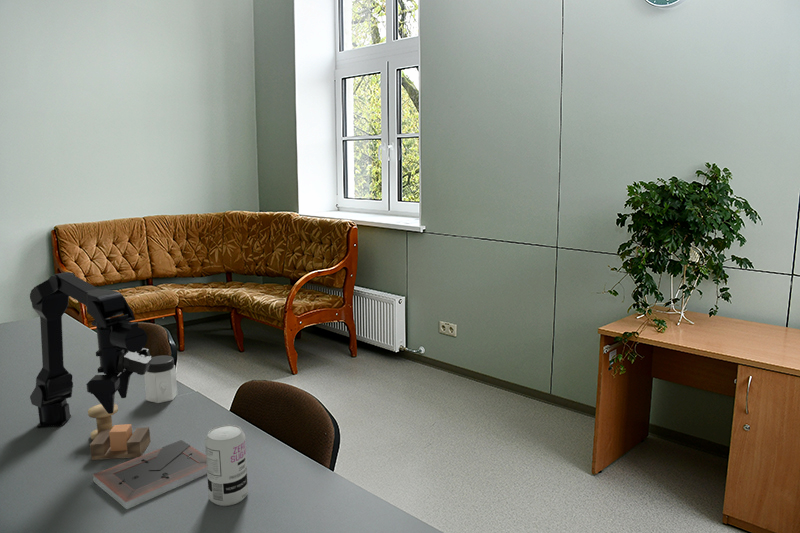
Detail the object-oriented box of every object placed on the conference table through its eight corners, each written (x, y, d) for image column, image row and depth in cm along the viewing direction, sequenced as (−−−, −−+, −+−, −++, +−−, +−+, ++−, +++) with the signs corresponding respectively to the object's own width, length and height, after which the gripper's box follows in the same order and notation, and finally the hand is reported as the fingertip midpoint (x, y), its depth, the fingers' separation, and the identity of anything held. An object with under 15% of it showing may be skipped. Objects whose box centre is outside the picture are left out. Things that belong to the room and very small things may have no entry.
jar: (149, 405, 178) (146, 366, 175) (143, 396, 184) (140, 358, 182) (180, 398, 183) (178, 360, 180) (174, 389, 189) (171, 353, 187)
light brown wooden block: (111, 451, 149) (109, 432, 148) (116, 443, 153) (114, 424, 152) (127, 450, 149) (126, 431, 148) (133, 442, 153) (131, 424, 152)
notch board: (91, 459, 147) (89, 444, 146) (103, 444, 154) (102, 429, 154) (140, 457, 148) (139, 441, 147) (150, 441, 156) (149, 427, 155)
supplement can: (213, 487, 135) (209, 424, 132) (251, 485, 135) (247, 422, 132) (205, 508, 127) (200, 442, 124) (245, 506, 127) (241, 440, 124)
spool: (86, 442, 155) (83, 415, 154) (96, 430, 162) (94, 403, 161) (114, 440, 156) (112, 413, 155) (124, 428, 163) (121, 402, 162)
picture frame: (182, 448, 153) (93, 483, 137) (181, 439, 153) (92, 473, 137) (218, 471, 142) (126, 512, 127) (217, 461, 142) (125, 501, 126)
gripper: (133, 356, 138) (139, 420, 141) (157, 332, 156) (161, 389, 159) (82, 358, 136) (89, 422, 139) (111, 333, 155) (117, 391, 158)
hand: (117, 405), depth 149 cm, fingers open, 9 cm apart
